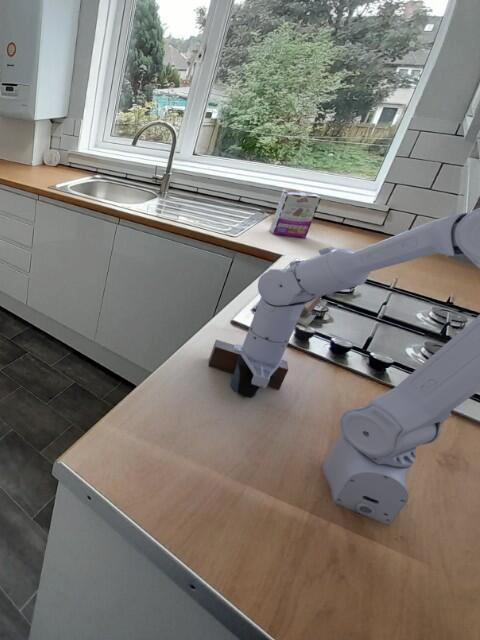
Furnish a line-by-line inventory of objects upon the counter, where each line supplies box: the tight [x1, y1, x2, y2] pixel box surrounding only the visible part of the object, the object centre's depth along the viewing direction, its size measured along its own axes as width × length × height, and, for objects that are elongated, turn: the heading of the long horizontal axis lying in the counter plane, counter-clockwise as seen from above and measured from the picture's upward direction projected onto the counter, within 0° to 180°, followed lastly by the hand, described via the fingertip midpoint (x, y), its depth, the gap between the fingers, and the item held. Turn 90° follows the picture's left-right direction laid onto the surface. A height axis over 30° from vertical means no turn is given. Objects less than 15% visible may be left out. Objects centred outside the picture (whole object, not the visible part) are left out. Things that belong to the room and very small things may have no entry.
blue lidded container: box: [229, 342, 259, 398], centre depth 77 cm, size 8×4×10 cm, turn 150°
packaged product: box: [297, 296, 328, 328], centre depth 107 cm, size 18×5×10 cm
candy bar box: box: [269, 190, 322, 239], centre depth 157 cm, size 11×5×16 cm, turn 73°
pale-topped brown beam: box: [207, 339, 289, 391], centre depth 81 cm, size 3×12×6 cm, turn 58°
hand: (244, 394), depth 75 cm, fingers closed, pressing on blue lidded container
